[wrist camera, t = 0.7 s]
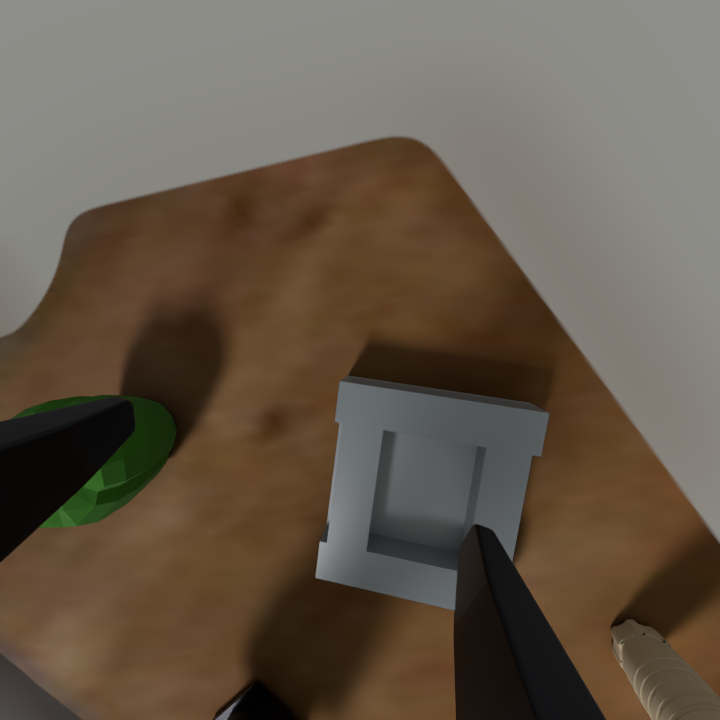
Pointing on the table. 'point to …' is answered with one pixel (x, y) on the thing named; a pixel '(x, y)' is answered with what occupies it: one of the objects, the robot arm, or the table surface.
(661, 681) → the handle
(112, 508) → the bell pepper
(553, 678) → the robot arm
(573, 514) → the table surface
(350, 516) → the block
